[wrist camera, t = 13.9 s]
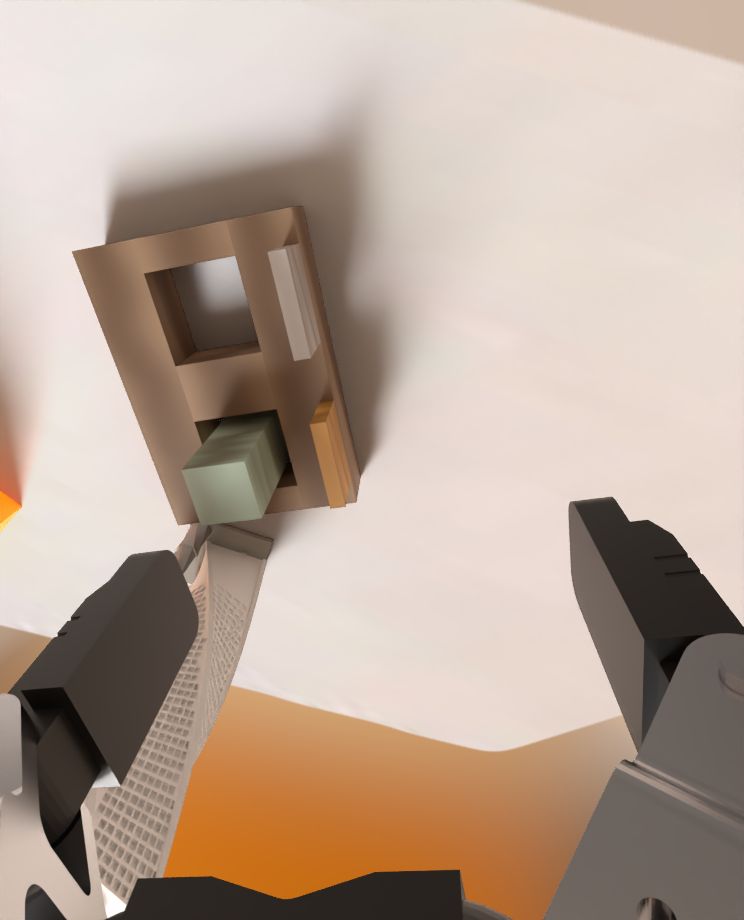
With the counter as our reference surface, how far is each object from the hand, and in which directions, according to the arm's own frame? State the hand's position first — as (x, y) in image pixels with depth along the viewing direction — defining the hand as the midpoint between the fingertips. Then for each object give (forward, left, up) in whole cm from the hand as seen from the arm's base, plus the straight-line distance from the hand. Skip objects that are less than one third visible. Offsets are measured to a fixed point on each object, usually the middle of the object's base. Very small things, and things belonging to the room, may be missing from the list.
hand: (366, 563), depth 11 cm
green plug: (+12, +8, -30) cm, 33 cm away
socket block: (+12, +3, -30) cm, 32 cm away
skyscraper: (+18, +20, -30) cm, 40 cm away
